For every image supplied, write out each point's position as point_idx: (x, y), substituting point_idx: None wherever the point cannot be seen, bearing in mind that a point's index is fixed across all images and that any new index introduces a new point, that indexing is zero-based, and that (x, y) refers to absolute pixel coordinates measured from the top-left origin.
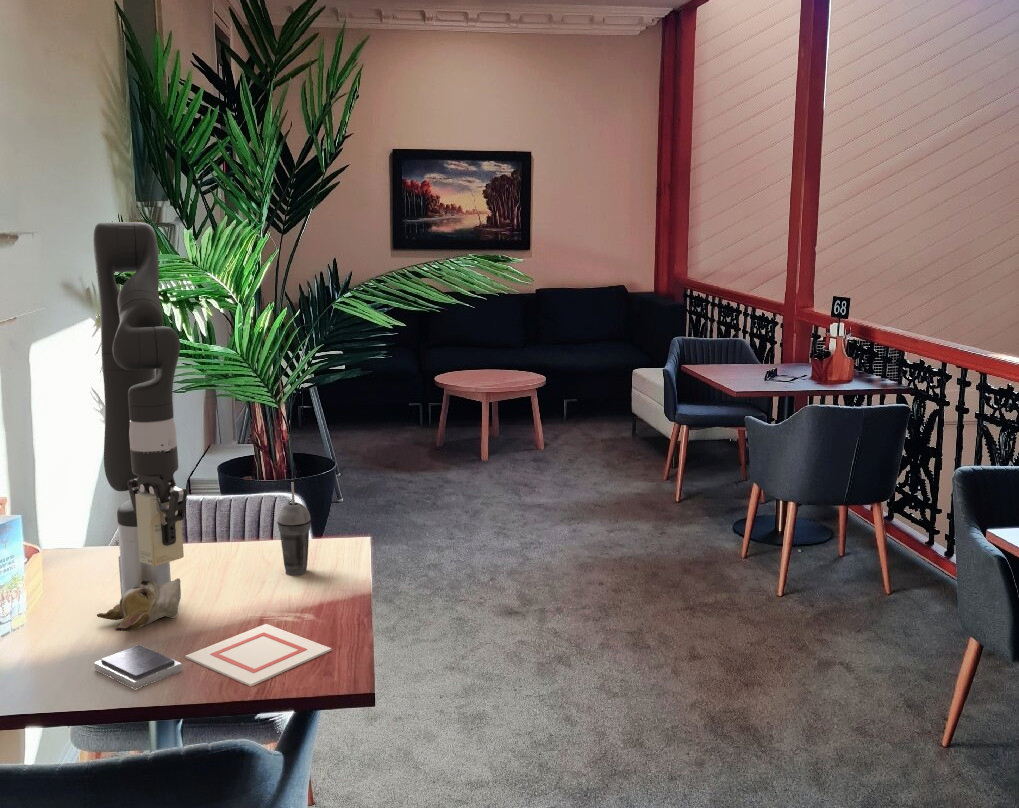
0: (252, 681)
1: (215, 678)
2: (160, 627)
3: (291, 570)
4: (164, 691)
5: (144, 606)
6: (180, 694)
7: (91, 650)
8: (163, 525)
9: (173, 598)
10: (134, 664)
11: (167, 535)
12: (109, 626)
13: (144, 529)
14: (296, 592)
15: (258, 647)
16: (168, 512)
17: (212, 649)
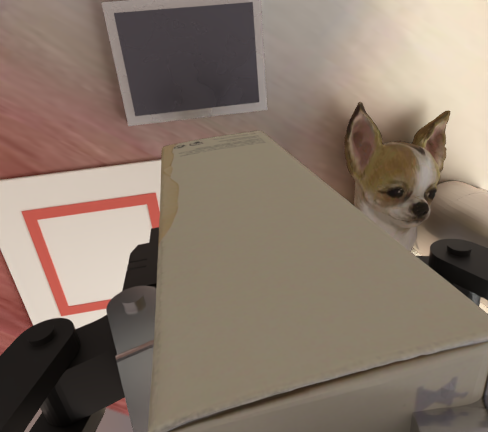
0: None
1: (55, 153)
2: (336, 186)
3: None
4: (59, 49)
5: (370, 177)
6: (24, 66)
7: (347, 40)
8: (146, 285)
9: None
10: (173, 42)
11: (139, 264)
12: (412, 122)
13: (239, 187)
14: None
15: (125, 264)
16: (30, 387)
17: None
